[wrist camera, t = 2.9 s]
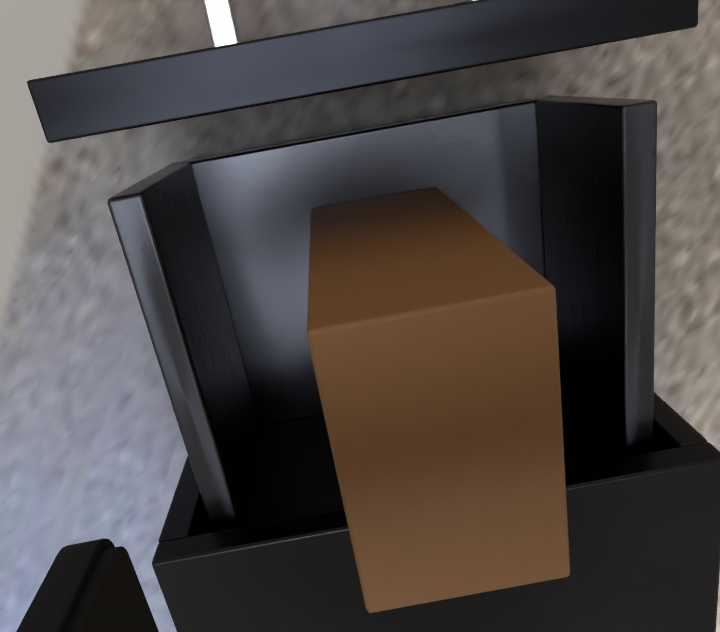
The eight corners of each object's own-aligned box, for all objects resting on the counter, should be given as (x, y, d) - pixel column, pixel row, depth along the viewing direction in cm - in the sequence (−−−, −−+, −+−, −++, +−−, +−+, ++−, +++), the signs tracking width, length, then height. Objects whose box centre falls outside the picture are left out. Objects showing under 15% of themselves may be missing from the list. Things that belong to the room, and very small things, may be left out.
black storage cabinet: (207, 396, 23) (149, 563, 15) (585, 328, 23) (728, 458, 15) (282, 653, 28) (269, 882, 20) (594, 596, 28) (705, 801, 20)
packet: (437, 185, 19) (557, 285, 9) (457, 358, 21) (572, 578, 12) (309, 208, 19) (304, 331, 9) (344, 379, 21) (367, 616, 12)
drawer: (73, -102, 16) (-78, -219, 10) (559, -188, 17) (711, -357, 10) (228, 435, 23) (194, 572, 16) (580, 371, 23) (683, 482, 16)
